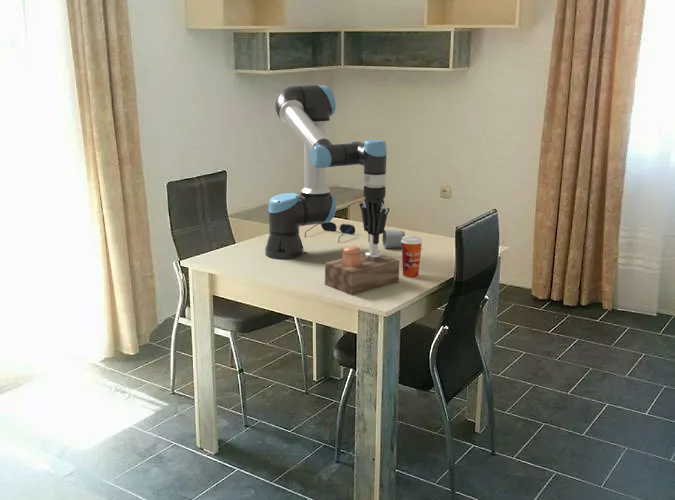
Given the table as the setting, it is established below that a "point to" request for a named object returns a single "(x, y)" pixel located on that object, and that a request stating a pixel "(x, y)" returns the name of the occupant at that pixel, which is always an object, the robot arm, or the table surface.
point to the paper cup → (411, 255)
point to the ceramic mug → (392, 238)
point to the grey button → (373, 256)
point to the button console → (361, 274)
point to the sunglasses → (332, 227)
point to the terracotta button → (351, 256)
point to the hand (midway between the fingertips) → (373, 252)
